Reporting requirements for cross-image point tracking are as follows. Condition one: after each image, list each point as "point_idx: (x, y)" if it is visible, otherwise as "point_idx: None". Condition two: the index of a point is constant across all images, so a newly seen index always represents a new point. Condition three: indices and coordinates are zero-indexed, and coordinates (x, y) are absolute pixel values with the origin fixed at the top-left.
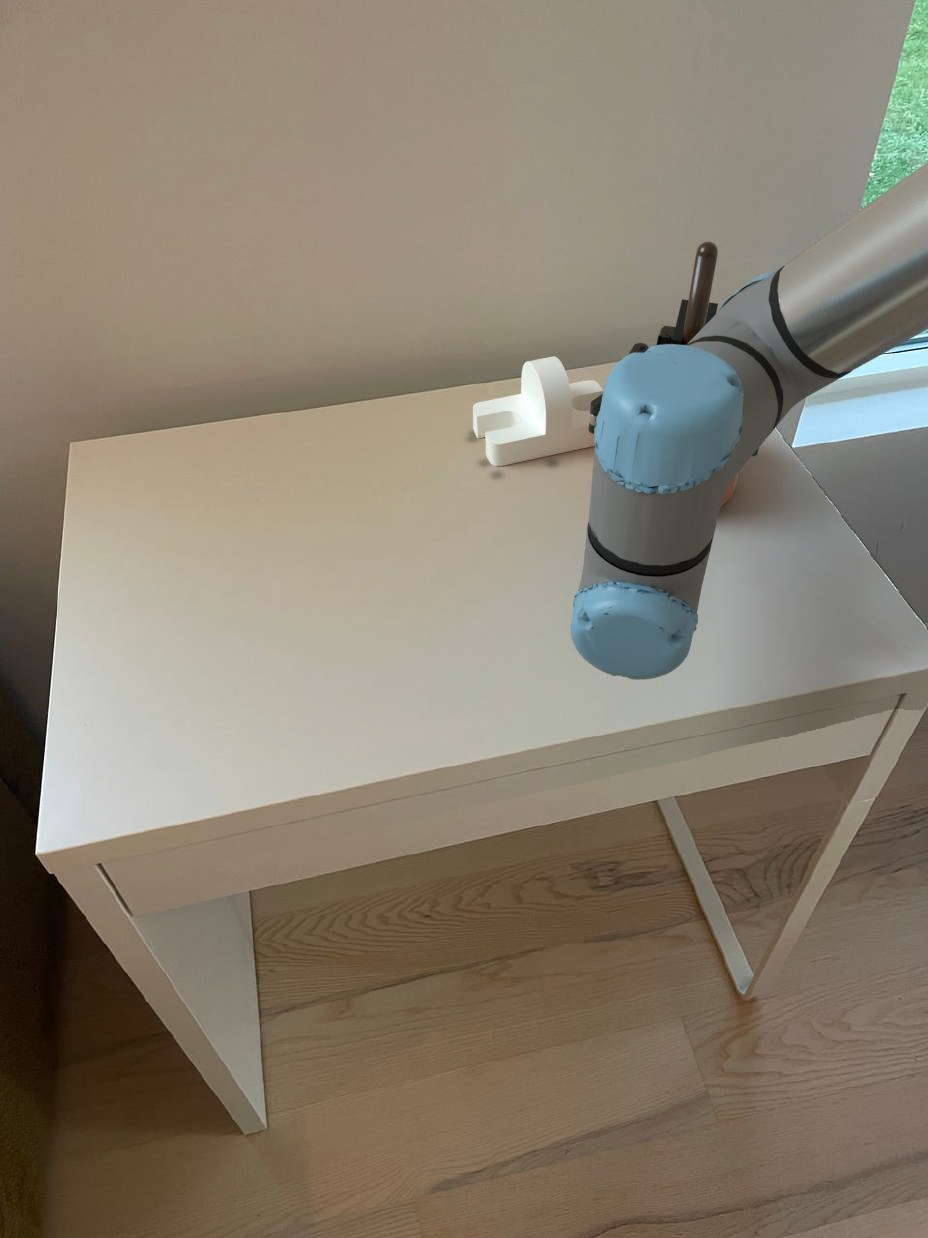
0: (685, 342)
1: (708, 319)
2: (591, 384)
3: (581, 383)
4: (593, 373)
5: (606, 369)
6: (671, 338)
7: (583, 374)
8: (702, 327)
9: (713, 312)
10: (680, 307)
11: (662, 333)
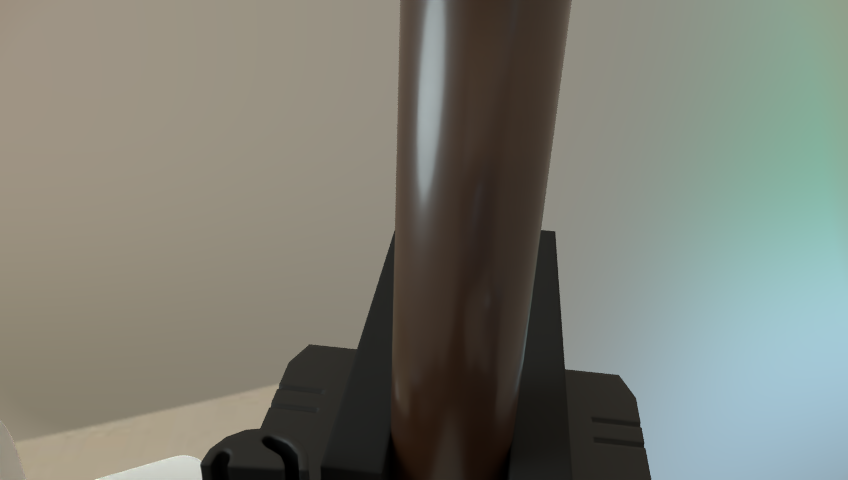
0: (409, 474)
1: None
2: (182, 472)
3: (153, 469)
4: (230, 409)
5: (266, 395)
6: (299, 475)
7: (204, 413)
8: (510, 386)
9: (544, 272)
10: (389, 252)
11: (243, 433)
